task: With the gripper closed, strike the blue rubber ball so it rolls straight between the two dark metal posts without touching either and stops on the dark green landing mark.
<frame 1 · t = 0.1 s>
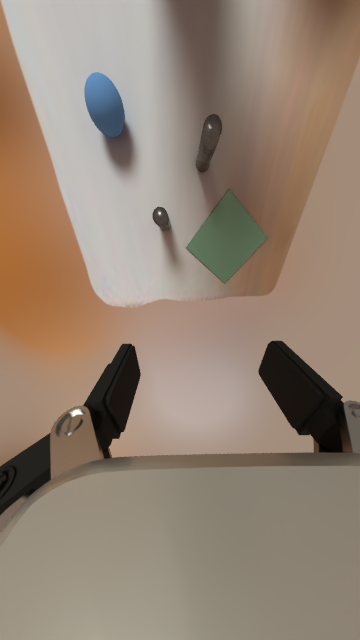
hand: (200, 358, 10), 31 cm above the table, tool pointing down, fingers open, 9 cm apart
landing mark: (226, 243, 34), on the table
ball: (105, 108, 22), on the table
post 1: (164, 223, 32), on the table
post 2: (202, 163, 27), on the table
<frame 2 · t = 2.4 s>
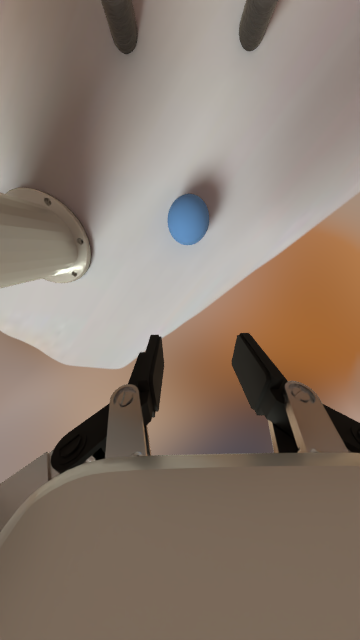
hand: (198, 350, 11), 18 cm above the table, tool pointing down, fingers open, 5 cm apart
ball: (188, 221, 19), on the table
post 1: (252, 27, 14), on the table
post 2: (124, 30, 14), on the table
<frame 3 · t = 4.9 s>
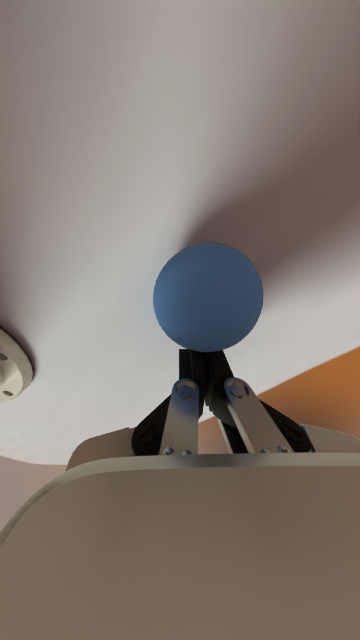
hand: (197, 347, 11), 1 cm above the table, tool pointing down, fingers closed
ball: (204, 300, 8), on the table
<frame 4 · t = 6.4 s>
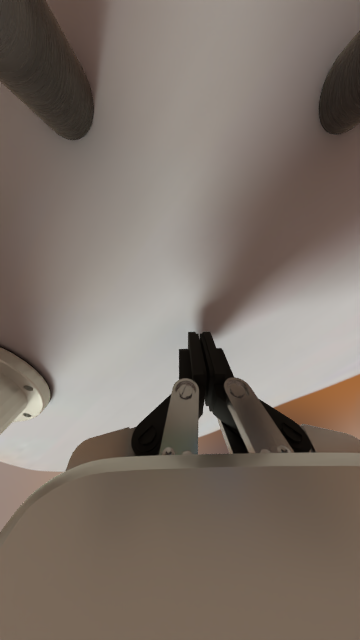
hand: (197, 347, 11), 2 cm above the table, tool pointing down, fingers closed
post 1: (351, 88, 6), on the table
post 2: (62, 95, 6), on the table
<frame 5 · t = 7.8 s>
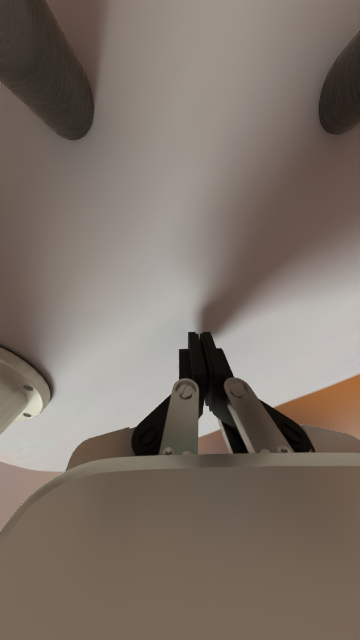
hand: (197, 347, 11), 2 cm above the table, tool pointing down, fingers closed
post 1: (351, 88, 6), on the table
post 2: (62, 95, 6), on the table
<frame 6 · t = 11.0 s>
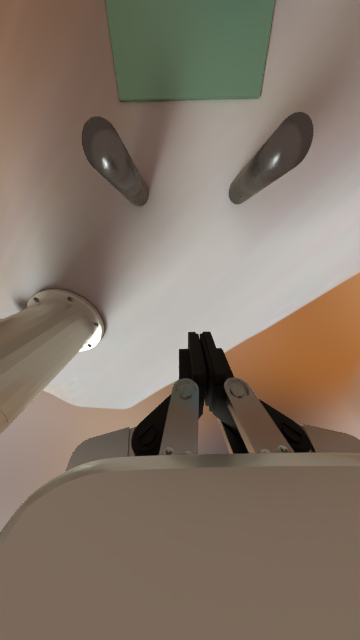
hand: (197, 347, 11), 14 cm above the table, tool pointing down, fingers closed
post 1: (239, 190, 17), on the table
post 2: (137, 193, 17), on the table
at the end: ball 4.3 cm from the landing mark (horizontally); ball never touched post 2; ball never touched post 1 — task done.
